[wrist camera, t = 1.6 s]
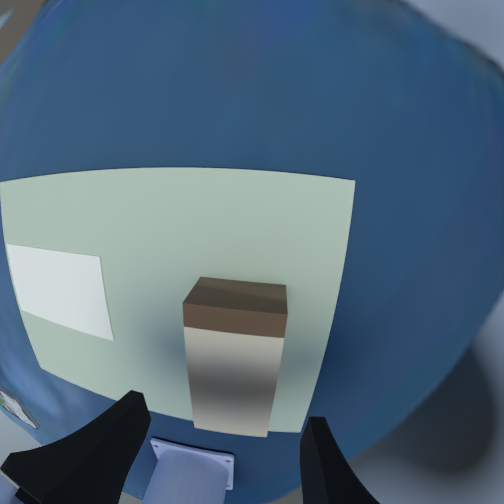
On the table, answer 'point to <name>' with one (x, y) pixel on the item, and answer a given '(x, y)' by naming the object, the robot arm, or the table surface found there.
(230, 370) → the brown-topped white block
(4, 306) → the table surface
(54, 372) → the mat
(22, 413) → the smartphone
